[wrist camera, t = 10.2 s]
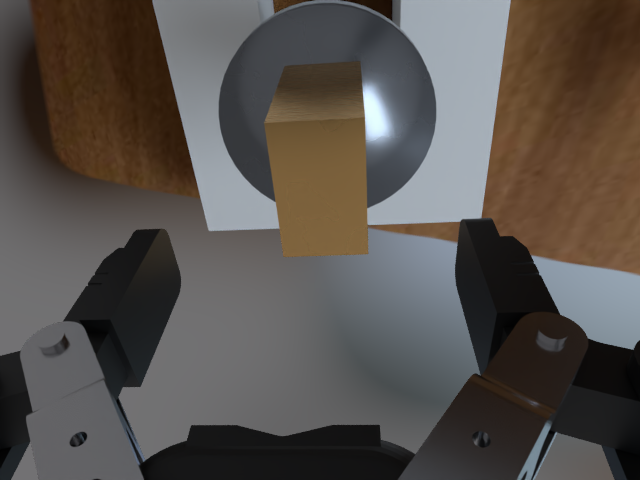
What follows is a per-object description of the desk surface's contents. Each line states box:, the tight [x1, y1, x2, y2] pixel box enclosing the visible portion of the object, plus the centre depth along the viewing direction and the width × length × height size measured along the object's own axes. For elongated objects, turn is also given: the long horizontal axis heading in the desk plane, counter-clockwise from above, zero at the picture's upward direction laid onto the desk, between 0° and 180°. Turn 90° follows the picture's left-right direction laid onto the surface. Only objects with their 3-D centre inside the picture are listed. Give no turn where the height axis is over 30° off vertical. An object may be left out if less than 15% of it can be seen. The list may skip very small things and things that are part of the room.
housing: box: [152, 0, 511, 231], centre depth 32 cm, size 24×20×6 cm
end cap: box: [219, 0, 436, 257], centre depth 21 cm, size 9×9×12 cm
